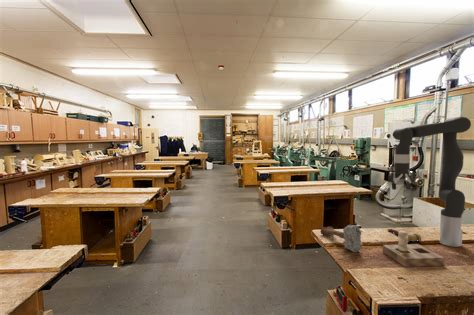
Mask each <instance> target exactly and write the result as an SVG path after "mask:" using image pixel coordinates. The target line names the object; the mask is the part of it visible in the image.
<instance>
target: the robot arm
mask: <svg viewBox="0 0 474 315" xmlns="http://www.w3.org/2000/svg"><path fill="white" fill-rule="evenodd" d="M471 126H472V123H471V119H470V118H467V117H466V116H457V117H448V118H446V119H444V121H443V122H433V123H426V124H425V123H424V124H420V125H414V126H408V127H399V128H396V129H394V130H393V132H392V137H393V139H394V140H396V141H399V143H398V144H396V145H395V147H394V157H393V158H394V160H393V161H394V162H393V170H394V171H393V172H392V171H388V179H387V180H388V182H389V183H391V189H392V190H393V191H395V190H397V182H399V181H400V180H404V181H405V182H406V183H405V189H406V190H411V186H412V185H411V184H412V183H414V182H415V172H414V171H410V168H411V167H410V164H411V162H410V161H411V159H410V158H411V157H410V148H411V144H412V142H413V139H414V138H415V139H416V138H418V139H419V138H424V137H429V136H434V135H440V134H442V141H443V142H442V144H443V145H442V148H443V149H442V160H441V167H442V168H441V179H440V186H439V190H438V198H439V200H441V201H442V203H445V207H444V208H442V209H441V210H440V219H439V220H440V222H439V225H440V227H439V243H440V244H442V245H443V246H448V247H453V248H459V247H462V245H463V229H462V217H463V216H462V215H463V214H464V213H465V212H464V211H465V203H466V197H465V194H464V192H462V191H461V190H458V189H456V182H457V178H458V177H459V175H460V173H461V172H462V170H463V167H464V153H463V151H462V149H461V147H460V146H459V144H458V141H457V140H458V138H457V137H458V136H457V135H458V134H462V133H464V132H467V131H468V130H470V129H471Z"/></svg>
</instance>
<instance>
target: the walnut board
mask: <svg viewBox="0 0 474 315" xmlns="http://www.w3.org/2000/svg"><path fill="white" fill-rule="evenodd" d="M407 250H408V252H407V253H400V252H399V251H398V244H382V253H384V254H385V255H387V257H389V258H391V259H393V260H394V261H396V263H399V264H400V265H401V266H403V267H404V268H408V267H409V268H411V267H412V268H413V267H442V266H443V267H444V266H445V257H444V256H442V255H440V254H438V253H436V252H434V251H432V250H430V249H428V248H426V247H424V246H423V245H421V244H419V243H411V244H408V246H407Z"/></svg>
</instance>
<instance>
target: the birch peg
mask: <svg viewBox="0 0 474 315" xmlns="http://www.w3.org/2000/svg"><path fill="white" fill-rule="evenodd" d="M398 231H399V233H398V235H397V236H398V237H397V238H398V239H397V240H398V242H397V245H398V251H399V252H400V253H407V252H408V250H407V246H408V243H409V242H408V235H409V233H408V231H405V230H398Z"/></svg>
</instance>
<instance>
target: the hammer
mask: <svg viewBox="0 0 474 315" xmlns="http://www.w3.org/2000/svg"><path fill="white" fill-rule="evenodd" d="M320 228H321V229H320V231H319V232H320V234H321V235H322V234H323V236H327V235H330V234H331V235H332V236H333V235H335V236H336V237H339V238H341V239H343V240H344V241H342V243H343V245H344V247H345V248H346V249H347V250H348V251H351V252H353V253H357V252H359V251H361V249H363V242H362V240H361V238H362V237H361V235H362V230H361V229H360V227H359V226H358V225H356V224H354V225H353V224H348V225H347V226H345V227H344V228H343V229H342V231H338V230H335V229H334V227H332V226H327V227H325V226H323V227H320Z"/></svg>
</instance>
